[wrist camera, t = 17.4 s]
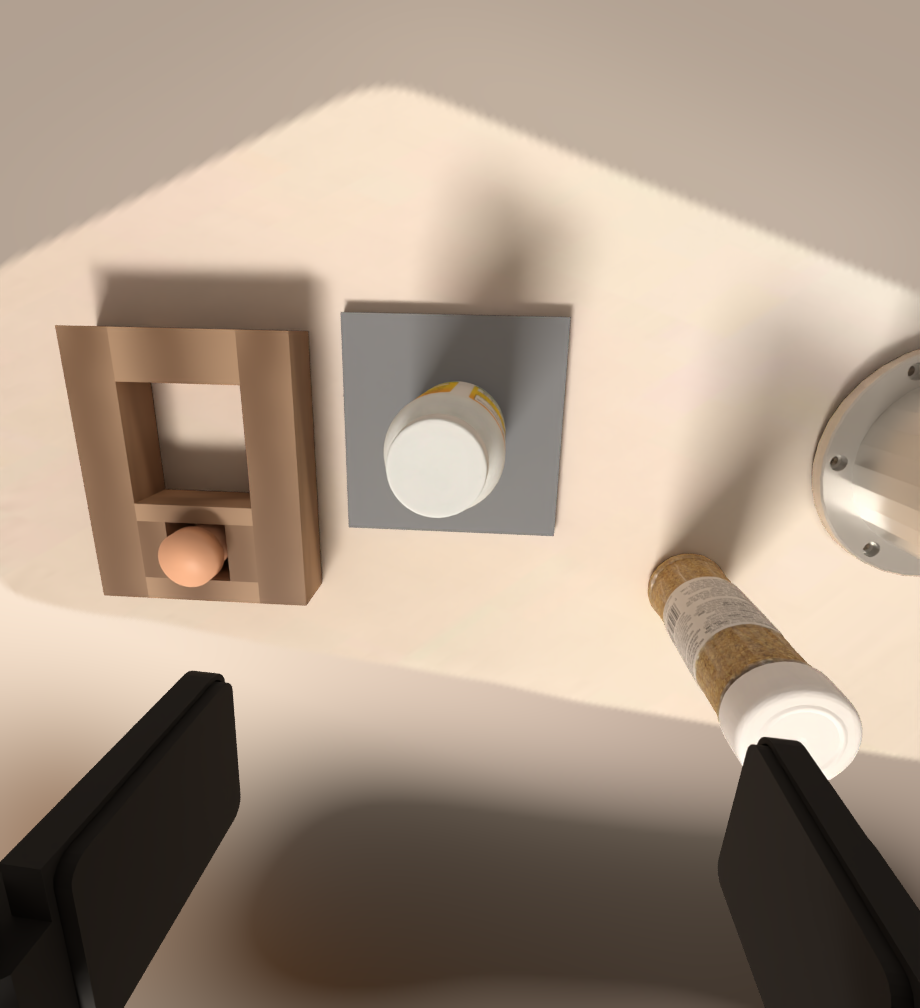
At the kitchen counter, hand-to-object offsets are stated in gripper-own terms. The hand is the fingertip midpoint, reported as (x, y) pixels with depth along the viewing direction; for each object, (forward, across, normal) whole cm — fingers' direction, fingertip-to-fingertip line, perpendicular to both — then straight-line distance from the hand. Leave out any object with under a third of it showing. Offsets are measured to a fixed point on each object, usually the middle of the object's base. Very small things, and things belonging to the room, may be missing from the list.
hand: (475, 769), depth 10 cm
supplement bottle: (+22, +3, -2) cm, 23 cm away
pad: (+23, +3, -2) cm, 23 cm away
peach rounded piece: (+22, +17, +5) cm, 28 cm away
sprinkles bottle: (+24, -11, +6) cm, 27 cm away
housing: (+22, +17, +1) cm, 28 cm away
